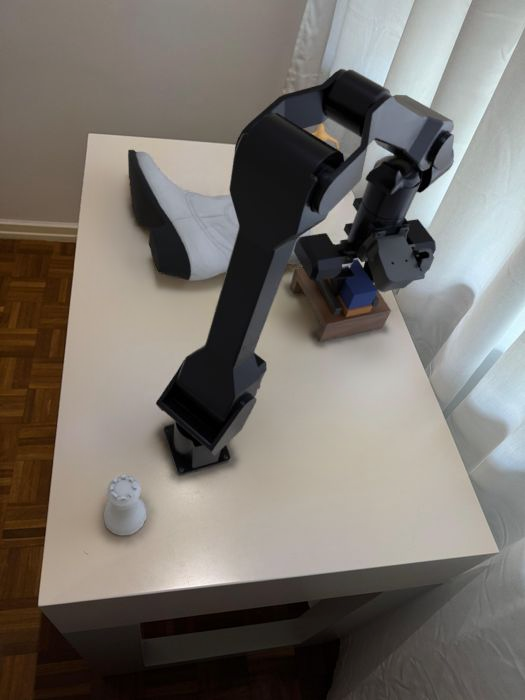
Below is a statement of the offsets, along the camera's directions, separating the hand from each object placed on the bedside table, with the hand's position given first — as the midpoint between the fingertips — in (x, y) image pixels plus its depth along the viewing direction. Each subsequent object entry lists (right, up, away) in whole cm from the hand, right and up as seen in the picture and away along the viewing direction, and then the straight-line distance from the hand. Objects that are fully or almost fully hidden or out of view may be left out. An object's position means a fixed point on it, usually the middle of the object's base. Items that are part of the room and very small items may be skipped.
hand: (348, 291), depth 82 cm
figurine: (-5, +22, +22) cm, 32 cm away
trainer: (0, 0, +1) cm, 1 cm away
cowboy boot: (-20, +12, +11) cm, 26 cm away
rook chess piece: (-27, -27, -19) cm, 43 cm away
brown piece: (-1, -2, +5) cm, 5 cm away
